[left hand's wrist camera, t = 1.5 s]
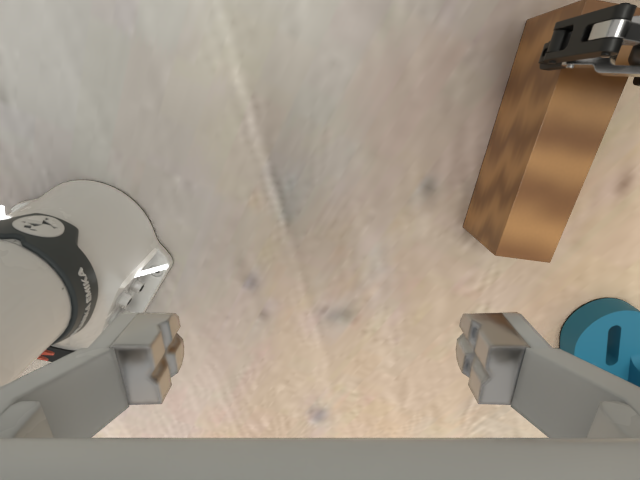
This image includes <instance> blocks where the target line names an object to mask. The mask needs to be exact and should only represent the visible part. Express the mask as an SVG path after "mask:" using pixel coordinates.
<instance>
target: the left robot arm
mask: <svg viewBox="0 0 640 480" xmlns="http://www.w3.org/2000/svg"><path fill="white" fill-rule="evenodd" d="M172 265H173V259H172V257H171V256H170V254H169V253H168V252H167V250H166V249H165V248H164V247H163V246H162V245H161V244H160V243H159V241H158V239H157V237H156V235H155V232H154V230H153V227H152V225H151V223H150V221H149V219H148V217H147V216H146V214H145V213H144V211H143V210H142V209H141V208H140V207H139V206H138V204H137V203H136V202H134V201H133V200H132V199H131V198H130V197H129V196H127V195H126V194H124V193H123V192H121V191H120V190H118V189H116V188H114V187H112V186H109V185H107V184H104V183H100V182H96V181H90V180H74V181H68V182H65V183H62V184H59V185H57V186H56V187H54V188H52V189H51V190H50V191H48V192H47V193H46V194H44V195H43V196H41V197H40V198H38V199H32V200H27V201H23V202H20V203H19V204H17V205H15V206H13V207H12V209H11V213H9V214H8V215H6V216H5V210H4V206H0V480H640V387H638V386H636V385H634V384H632V383H630V382H628V381H626V380H624V379H622V378H620V377H617V376H615V375H613V374H611V373H609V372H607V371H605V370H603V369H601V368H599V367H597V366H595V365H593V364H590V363H588V362H586V361H584V360H582V359H580V358H578V357H576V356H574V355H572V354H570V353H568V352H565V351H563V350H561V349H559V348H552V347H551V346H550V345H549V344H548V343H547V342H546V341H545V340H544V338H543V337H542V336H541V335H540V334H539V333H538V332H537V331H536V330H535V329H534V328H533V327H532V326H531V324H530V323H529V322H528V321H527V320H526V319H525V318H524V317H523V316H522V315H521V314H519V313H517V312H508V313H478V314H463V315H462V317H461V320H460V328H461V330H462V331H463V334H462V335H461V336H460V337H459V338H458V339H457V344H456V357H457V362H458V365H459V367H460V370H461V372H462V373H463V374H465V375H466V376H468V377H469V383H468V385H469V387H470V389H471V391H472V393H473V395H474V397H475V399H476V401H477V403H478V404H498V405H511V407H512V408H513V409H515V410H516V411H517V412H518V413H519V414H521V415H522V416H523V417H524V418H526V419H527V420H528V421H529V422H530V423H532V424H533V425H534V426H535V427H537V428H538V429H539V430H540V431H541V432H543V433H544V434H545V435H546V436H548V437H549V438H91V437H93V436H94V435H95V434H96V433H97V432H99V431H100V430H101V429H102V428H104V427H105V426H106V425H107V424H108V423H110V422H111V421H112V420H113V419H115V418H116V417H117V416H118V415H119V414H121V413H122V412H123V411H124V410H126V409H127V408H128V407H129V405H141V404H162V403H163V401H164V399H165V397H166V395H167V393H168V391H169V389H170V387H171V385H172V383H171V377H172V376H174V375H175V374H177V373H178V372H179V370H180V367H181V365H182V361H183V357H184V343H183V339H182V338H181V337H180V336H179V335H178V334H177V331H178V330H179V328H180V321H179V316H178V315H177V314H176V313H145V311H146V309H147V308H148V306H149V304H150V303H151V301H152V299H153V297H154V296H155V294H156V292H157V291H158V289H159V287H160V286H161V284H162V282H163V280H164V279H165V277H166V275H167V274H168V272H169V270H170V269H171V267H172ZM36 359H40V360H45V361H50V362H52V363H49V364H47V365H45V366H43V367H41V368H39V369H37V370H35V371H33V372H31V373H29V374H27V375H24V376H22V377H20V375H21V374H22V373H23V372H24V371H25V370H26V369H27V368H28V367H29V366H30V365H31V364H32V363H33V362H34V361H35V360H36ZM19 377H20V378H19Z"/></svg>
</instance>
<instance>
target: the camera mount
mask: <svg viewBox="0 0 640 480" xmlns="http://www.w3.org/2000/svg"><path fill="white" fill-rule="evenodd" d="M560 349H561V350H563V351H565V352H568V353H570V354H572V355H574V356H576V357H578V358H580V359H582V360H584V361H586V362H588V363H590V364H593V365H595V366H597V367H599V368H601V369H603V370H605V371H607V372H609V373H611V374H613V375H615V376H617V377H620V378H622V379H624V380H626V381H628V382H630V383H632V384H634V385H636V386H638V387H640V311H639V310H637V309H636V308H634V307H633V306H631V305H630V304H628V303H627V302H625V301H623V300H620V299H615V298H604V299H598V300H595V301H592V302H590V303H588V304H586V305H584V306H582V307H581V308H579V309H578V310H576V311H575V312H574V313H573V314H572V315H571V316H570V317H569V318H568V320H567V321H566V322H565V324H564V326H563V328H562V331H561V335H560Z"/></svg>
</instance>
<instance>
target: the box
mask: <svg viewBox="0 0 640 480" xmlns="http://www.w3.org/2000/svg"><path fill="white" fill-rule="evenodd" d="M614 5H619V4H616V3H610V2H605V1H599V0H581V1H578V2H575V3H572V4H570V5H567V6H564V7H561V8H559V9H556V10H553V11H550V12H547V13H545V14H542V15H539V16H536V17H534V18H531V19H528V20H527V22H526V25H525V28H524V31H523V34H522V38H521V41H520V44H519V47H518V51H517V54H516V57H515V60H514V63H513V67H512V70H511V73H510V76H509V80H508V83H507V86H506V89H505V93H504V96H503V99H502V102H501V105H500V109H499V112H498V115H497V118H496V122H495V125H494V128H493V131H492V134H491V138H490V141H489V144H488V147H487V151H486V154H485V157H484V160H483V163H482V167H481V170H480V173H479V176H478V180H477V183H476V186H475V189H474V192H473V196H472V199H471V202H470V205H469V209H468V212H467V215H466V218H465V221H464V225H463V228H464V229H466V230H467V231H468V232H469V233H470V234H471V235H472V236H474V237H475V238H476V239H477V240H478V241H479V242H480V243H481V244H483V245H484V246H485V247H486V248H487V249H488V250H489V251H491V252H492V253H493V254H494V255H495V256H503V257H511V258H518V259H526V260H534V261H541V262H549V263H550V261H551V259H552V257H553V254H554V252H555V250H556V247H557V245H558V242H559V240H560V238H561V235H562V233H563V231H564V228H565V226H566V224H567V221H568V219H569V216H570V214H571V212H572V209H573V207H574V205H575V202H576V200H577V198H578V195H579V193H580V190H581V188H582V186H583V183H584V181H585V179H586V176H587V174H588V171H589V169H590V167H591V164H592V162H593V160H594V157H595V155H596V153H597V150H598V148H599V145H600V143H601V141H602V138H603V136H604V134H605V131H606V129H607V126H608V124H609V122H610V119H611V117H612V115H613V112H614V110H615V108H616V105H617V103H618V100H619V98H620V96H621V93H622V91H623V89H624V86H625V84H626V81H627V79H628V77H626V76H603V75H601V74H599V73H598V72H596V71H595V69H594V68H576V67H574V68H573V69H568V68H565V69H558V70H551V71H547V70H541V69H540V68H539V66H540V63H538V62H539V59H540V56H541V53H542V50H543V47H544V44H545V43H548V42H549V41H550V40H551V38H552V35H553V32H554V31H553V29H554V26H555V23H556V22H559V21H562V20H566V19H569V18H573V17H576V16H580V15H583V14H586V13H590V12H593V11H597V10H600V9H604V8H607V7H610V6H614ZM633 16H640V8H636V10H635V13H634V15H633ZM632 47H633V46H630V45H622V46H621V48H620V51H619V54H618V56H617V58H616V61H615V65H629V63H628V57H629V55H630V52H631V50H632Z"/></svg>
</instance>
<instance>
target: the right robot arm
mask: <svg viewBox="0 0 640 480" xmlns="http://www.w3.org/2000/svg"><path fill="white" fill-rule="evenodd" d="M636 8H637V6H636V5H632V4H630V3H621V4H619V5H614V6H610V7H607V8H604V9H600V10H597V11H593V12H590V13H586V14H583V15H580V16H576V17H573V18H569V19H566V20H562V21H559V22H556V23H555V26H554V29H553V31H554V32H553V35H552V38H551V40H550V41H549V42H548V43H545V44H544V47H543V50H542V53H541V56H540V59H539V62H538V63H540V66H539V68H540V69H541V70H547V71H551V70H558V69H565V68H568V69H573V68H574V67H576V68H594V69H595V71H596V72H598V73H599V74H601V75H603V76H626V77H634V80H633V84H634V85H637V86H640V16H633V15H634V13H635V10H636ZM622 45H630V46H633V47H632V50H631V52H630V55H629V57H628V63H629V65H615V61H616V58H617V56H618V54H619V51H620V48H621V46H622Z"/></svg>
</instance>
